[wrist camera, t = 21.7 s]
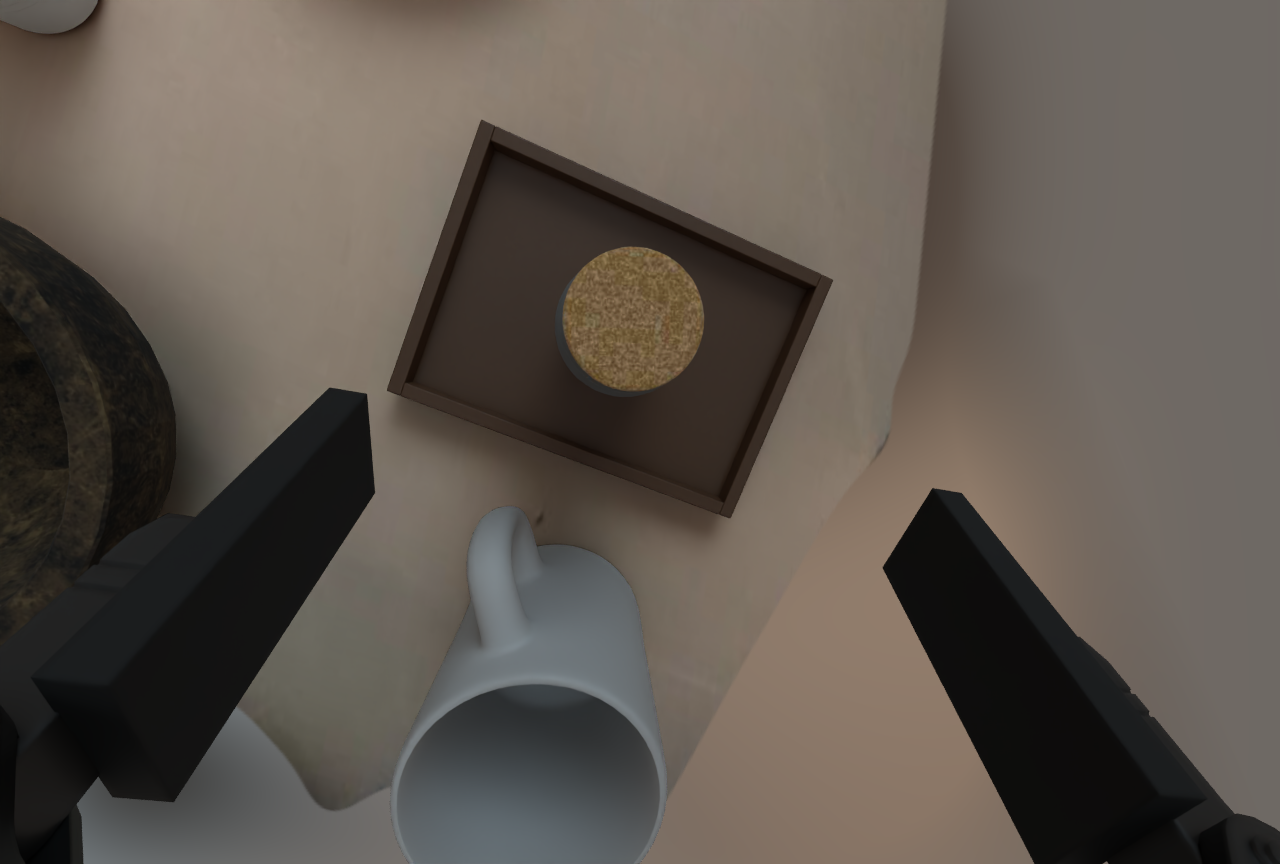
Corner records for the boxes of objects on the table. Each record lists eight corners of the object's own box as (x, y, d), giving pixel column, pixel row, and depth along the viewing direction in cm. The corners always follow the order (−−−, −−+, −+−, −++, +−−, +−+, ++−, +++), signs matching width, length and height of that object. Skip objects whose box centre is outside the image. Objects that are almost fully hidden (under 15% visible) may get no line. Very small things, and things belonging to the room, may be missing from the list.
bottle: (584, 270, 32) (579, 198, 17) (675, 307, 32) (747, 268, 18) (551, 364, 32) (519, 373, 18) (642, 397, 33) (684, 433, 18)
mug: (655, 675, 37) (696, 880, 22) (494, 719, 36) (432, 957, 22) (600, 456, 34) (608, 529, 20) (426, 499, 33) (305, 607, 19)
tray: (818, 284, 34) (833, 279, 32) (722, 509, 35) (730, 518, 33) (488, 134, 31) (480, 119, 29) (399, 388, 32) (386, 390, 30)
